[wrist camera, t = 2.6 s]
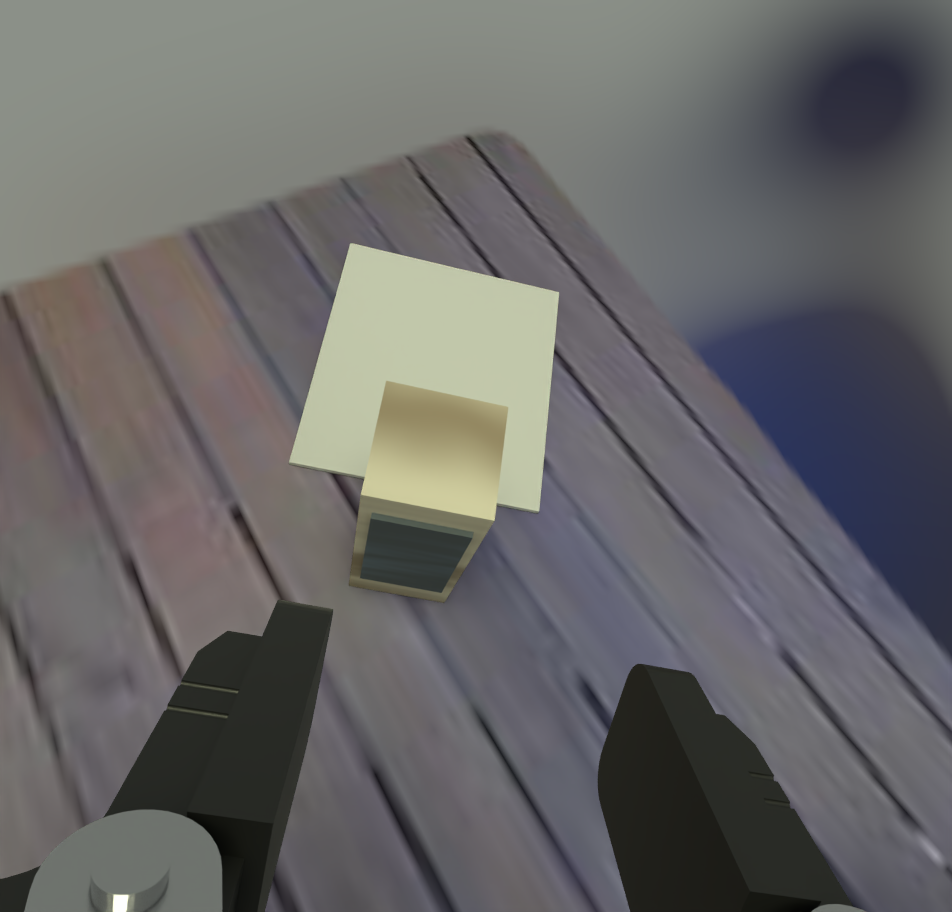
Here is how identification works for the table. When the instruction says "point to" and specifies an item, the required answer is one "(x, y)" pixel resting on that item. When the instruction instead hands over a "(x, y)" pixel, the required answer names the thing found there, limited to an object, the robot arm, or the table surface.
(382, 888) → the table surface
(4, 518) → the table surface
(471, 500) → the birch block
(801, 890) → the robot arm
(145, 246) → the table surface
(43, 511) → the table surface
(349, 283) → the cream mat
